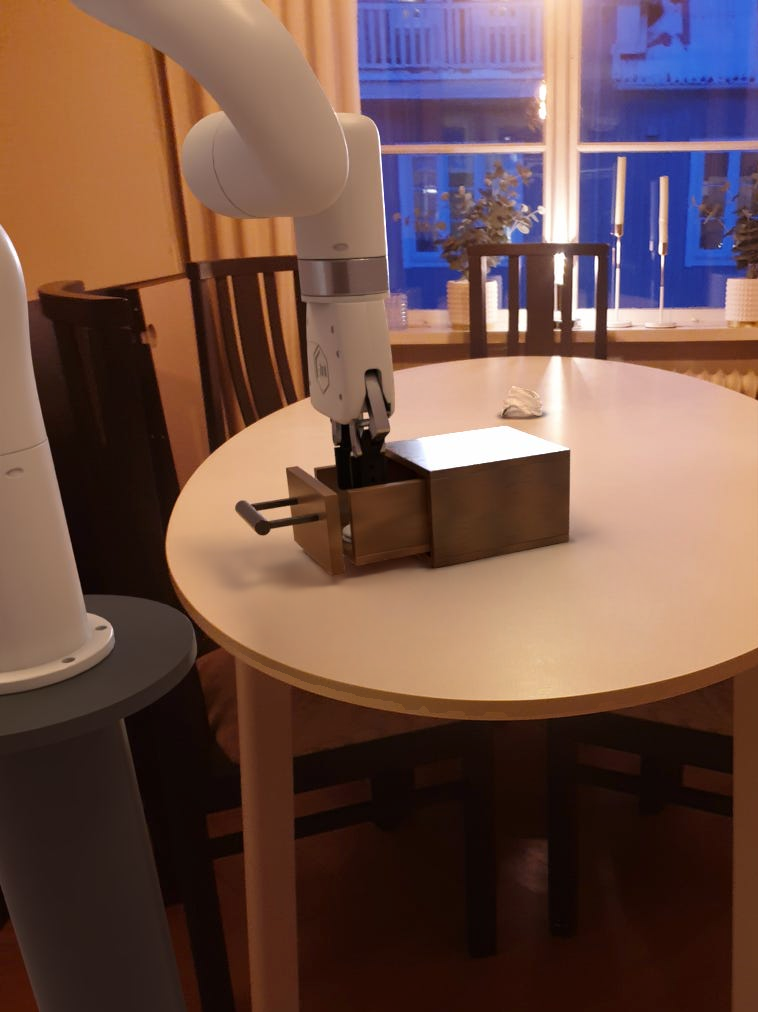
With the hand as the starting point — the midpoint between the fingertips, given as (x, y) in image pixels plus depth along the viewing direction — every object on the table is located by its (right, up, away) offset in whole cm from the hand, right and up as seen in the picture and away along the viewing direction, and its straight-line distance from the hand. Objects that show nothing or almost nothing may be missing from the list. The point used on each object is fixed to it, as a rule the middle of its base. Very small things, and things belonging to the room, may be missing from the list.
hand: (362, 490), depth 86 cm
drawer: (-1, -5, +2) cm, 6 cm away
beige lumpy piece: (+18, +22, +62) cm, 68 cm away
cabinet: (+10, -3, +7) cm, 13 cm away
